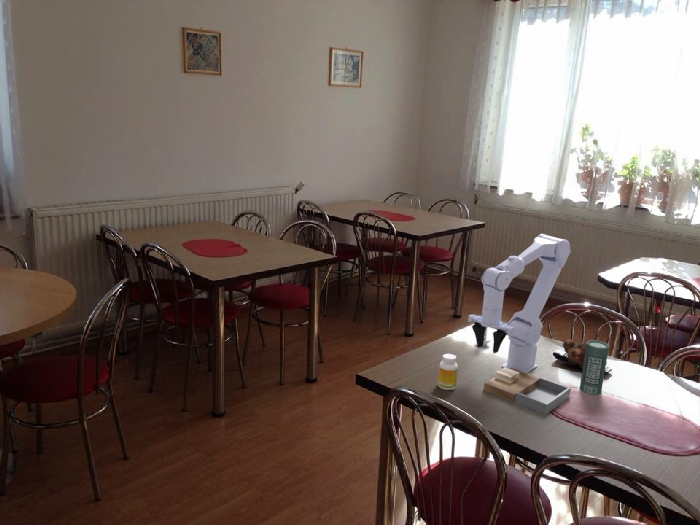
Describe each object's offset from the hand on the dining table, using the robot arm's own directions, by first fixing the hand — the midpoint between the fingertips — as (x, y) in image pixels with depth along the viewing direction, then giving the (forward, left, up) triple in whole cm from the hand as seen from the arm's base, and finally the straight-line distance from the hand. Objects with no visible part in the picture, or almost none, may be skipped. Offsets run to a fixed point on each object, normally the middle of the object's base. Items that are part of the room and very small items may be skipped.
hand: (487, 349), depth 191 cm
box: (0, +19, -9) cm, 21 cm away
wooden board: (0, +10, -9) cm, 13 cm away
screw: (-23, -14, -10) cm, 29 cm away
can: (-17, +27, -10) cm, 33 cm away
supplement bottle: (+14, -4, -10) cm, 18 cm away
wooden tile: (0, +8, -7) cm, 10 cm away
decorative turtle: (-32, +18, -10) cm, 38 cm away
